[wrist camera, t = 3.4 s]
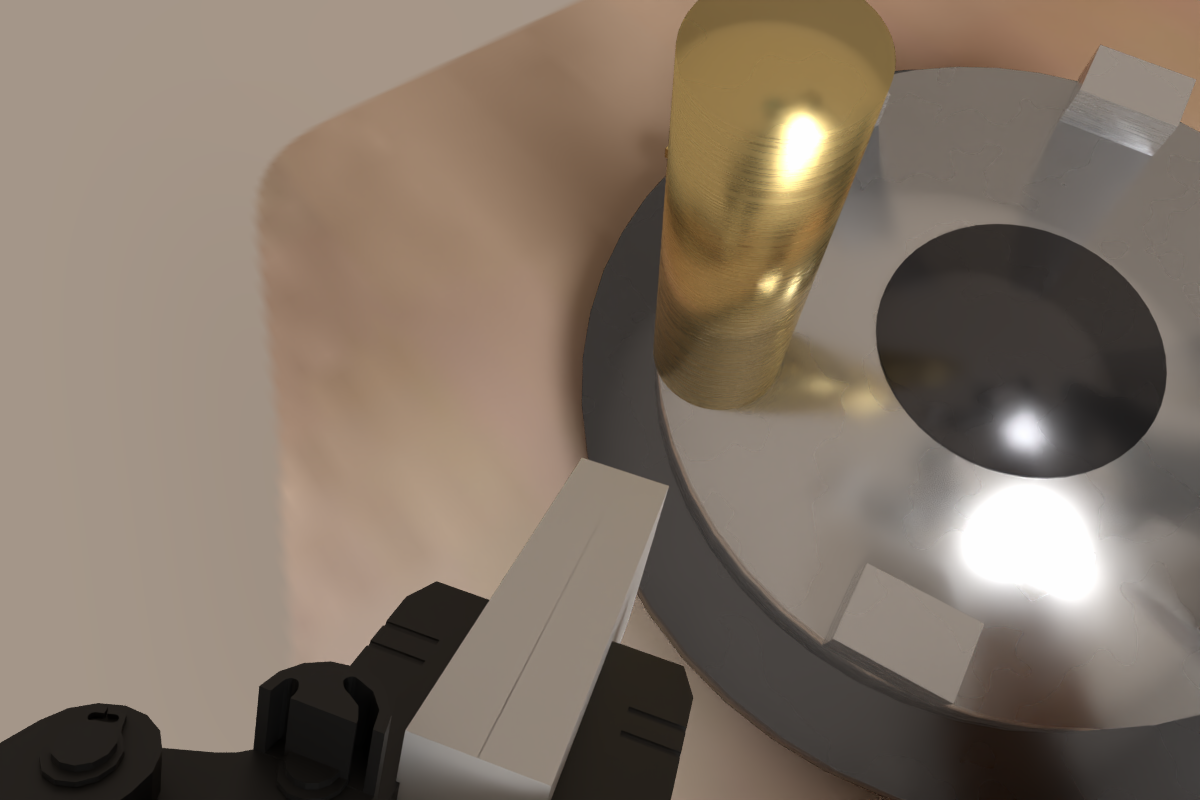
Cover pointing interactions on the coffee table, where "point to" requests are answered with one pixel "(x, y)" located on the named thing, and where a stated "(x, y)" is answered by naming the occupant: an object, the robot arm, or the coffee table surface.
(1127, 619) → the lugged metal disc
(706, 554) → the base plate
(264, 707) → the robot arm
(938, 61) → the coffee table surface
